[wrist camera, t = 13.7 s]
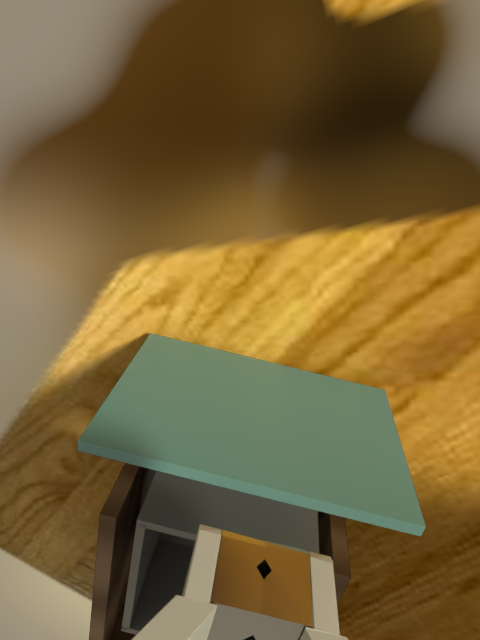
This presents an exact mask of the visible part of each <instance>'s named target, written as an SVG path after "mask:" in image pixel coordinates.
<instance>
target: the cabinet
mask: <svg viewBox="0 0 480 640" xmlns="http://www.w3.org/2000/svg"><path fill="white" fill-rule="evenodd" d="M78 451H80V452H84V453H88V454H92V455H96V456H100V457H104V458H108V459H112V460H116V461H120V462H124V463H128V464H132V465H136V466H140V467H144V468H148V475H147V482H146V488H145V495H144V502H143V506H142V508H141V511H140V513H139V516H138V518H137V523H136V530H135V537H134V544H133V551H132V558H131V565H130V572H129V579H128V586H127V593H126V600H125V607H124V614H123V621H122V628H121V631H124V632H128V633H131V634H135V635H136V634H137V633H138V632H139V631H140V630H141V629H142V628H143V627H144V626H145V625H146V624H147V623H148V622H149V621H150V620H151V619H152V618H153V617H154V616H155V615H156V614H157V613H158V612H159V611H160V610H161V609H162V608H163V607H164V606H165V605H166V604H167V603H168V602H169V601H170V600H171V599H172V598H173V597H174V596H175V595H180V596H182V593H183V589H184V584H185V580H186V576H187V572H188V568H189V564H190V560H191V556H192V552H193V548H194V544H195V540H196V536H197V532H198V529H199V526H200V524H202V525H206V526H210V527H213V528H217V529H221V530H225V531H229V532H232V533H236V534H239V535H243V536H247V537H250V538H254V539H258V540H261V541H264V540H265V541H269V542H273V543H278V544H282V545H286V546H291V547H295V548H299V549H304V550H307V551H310V552H314V553H318V554H319V533H318V512H319V511H320V512H324V513H328V514H332V515H336V516H340V517H344V518H348V519H352V520H356V521H360V522H364V523H368V524H372V525H376V526H380V527H384V528H388V529H392V530H396V531H400V532H404V533H408V534H412V535H416V536H420V537H421V535H422V533H423V531H424V530H425V528H426V525H425V522H424V518H423V515H422V512H421V508H420V505H419V502H418V498H417V495H416V492H415V488H414V485H413V482H412V478H411V475H410V472H409V468H408V465H407V462H406V458H405V455H404V452H403V448H402V445H401V442H400V438H399V435H398V432H397V428H396V425H395V422H394V418H393V415H392V412H391V408H390V405H389V402H388V398H387V395H386V392H385V390H383V389H379V388H375V387H370V386H366V385H362V384H358V383H354V382H350V381H346V380H342V379H337V378H333V377H329V376H325V375H321V374H317V373H313V372H309V371H305V370H300V369H296V368H292V367H288V366H284V365H280V364H276V363H272V362H267V361H263V360H259V359H255V358H251V357H247V356H243V355H239V354H234V353H230V352H226V351H222V350H218V349H214V348H210V347H206V346H201V345H197V344H193V343H189V342H185V341H181V340H177V339H173V338H168V337H164V336H160V335H156V334H152V333H150V335H149V336H148V338H147V339H146V341H145V342H144V344H143V345H142V347H141V348H140V349H139V351H138V352H137V354H136V355H135V357H134V358H133V360H132V361H131V363H130V364H129V366H128V367H127V369H126V370H125V372H124V373H123V375H122V376H121V378H120V379H119V381H118V382H117V384H116V385H115V387H114V388H113V390H112V391H111V393H110V394H109V395H108V397H107V398H106V400H105V401H104V403H103V404H102V406H101V407H100V409H99V410H98V412H97V413H96V415H95V416H94V418H93V419H92V421H91V422H90V424H89V425H88V427H87V428H86V430H85V431H84V433H83V434H82V436H81V437H80V439H79V440H78Z"/></svg>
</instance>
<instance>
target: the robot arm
mask: <svg viewBox="0 0 480 640" xmlns="http://www.w3.org/2000/svg"><path fill="white" fill-rule="evenodd" d="M131 640H348V638H347V637H344V636H341V635H340V632H339V621H338V611H337V600H336V590H335V579H334V569H333V561H332V559H331V557H330V556H326V555H322V554H318V553H314V552H310V551H307V550H304V549H299V548H295V547H291V546H286V545H282V544H278V543H273V542H269V541H265V540H264V541H261V540H258V539H254V538H250V537H247V536H243V535H239V534H236V533H232V532H229V531H225V530H221V529H217V528H213V527H210V526H206V525H202V524H200V526H199V529H198V532H197V536H196V540H195V544H194V548H193V552H192V556H191V560H190V564H189V568H188V572H187V576H186V580H185V584H184V589H183V593H182V596H180V595H175V596H174V597H173V598H172V599H171V600H170V601H169V602H168V603H167V604H166V605H165V606H164V607H163V608H162V609H161V610H160V611H159V612H158V613H157V614H156V615H155V616H154V617H153V618H152V619H151V620H150V621H149V622H148V623H147V624H146V625H145V626H144V627H143V628H142V629H141V630H140V631H139V632H138V633H137V634H136V635H135V636H134V637H133V638H132V639H131Z"/></svg>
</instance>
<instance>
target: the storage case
mask: <svg viewBox="0 0 480 640" xmlns="http://www.w3.org/2000/svg"><path fill="white" fill-rule="evenodd" d="M147 475H148V468H144V467H140V466H136V465H132V464H128V463H125V465H124V467H123V469H122V471H121V473H120V475H119V477H118V479H117V481H116V483H115V485H114V487H113V489H112V491H111V493H110V495H109V497H108V499H107V501H106V503H105V505H104V507H103V509H102V511H101V513H100V518H99V530H98V541H97V553H96V564H95V576H94V588H93V599H92V611H91V622H90V635H89V640H131V639H132V638H133V637H134V636H135V634H131V633H128V632H124V631H121V628H122V621H123V614H124V607H125V600H126V593H127V586H128V579H129V572H130V565H131V558H132V551H133V544H134V537H135V530H136V523H137V518H138V516H139V513H140V511H141V508H142V506H143V502H144V495H145V488H146V482H147ZM318 533H319V554H322V555H326V556H330V557H331V559H332V561H333V569H334V579H335V590H336V600H337V604H338V602H339V600H340V598H341V597H342V595H343V593H344V591H345V589H346V587H347V585H348V583H349V581H350V579H351V572H350V563H349V553H348V544H347V535H346V525H345V518H344V517H340V516H336V515H332V514H328V513H324V512H320V511H319V512H318Z"/></svg>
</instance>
